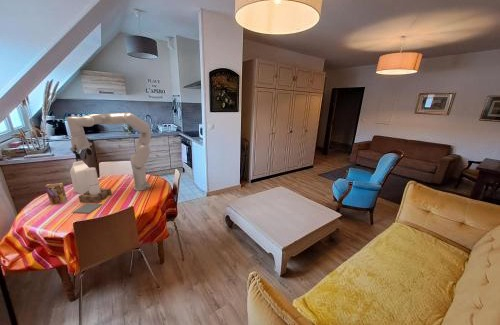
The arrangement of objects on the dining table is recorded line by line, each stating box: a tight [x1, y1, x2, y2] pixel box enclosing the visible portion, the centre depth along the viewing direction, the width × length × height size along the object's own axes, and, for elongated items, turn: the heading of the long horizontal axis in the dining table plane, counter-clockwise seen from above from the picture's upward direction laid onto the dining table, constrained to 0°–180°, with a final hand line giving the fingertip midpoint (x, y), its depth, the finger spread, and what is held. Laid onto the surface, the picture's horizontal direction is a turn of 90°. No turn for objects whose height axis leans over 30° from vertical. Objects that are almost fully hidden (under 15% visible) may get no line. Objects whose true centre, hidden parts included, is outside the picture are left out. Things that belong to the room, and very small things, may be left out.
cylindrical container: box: [84, 167, 101, 195], centre depth 155 cm, size 7×7×25 cm
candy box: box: [44, 182, 68, 205], centre depth 149 cm, size 9×4×15 cm, turn 107°
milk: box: [69, 160, 90, 195], centre depth 168 cm, size 12×12×26 cm
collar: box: [78, 187, 113, 204], centre depth 159 cm, size 15×15×5 cm
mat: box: [72, 202, 103, 215], centre depth 144 cm, size 12×12×1 cm
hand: (84, 156), depth 148 cm, fingers open, 9 cm apart
